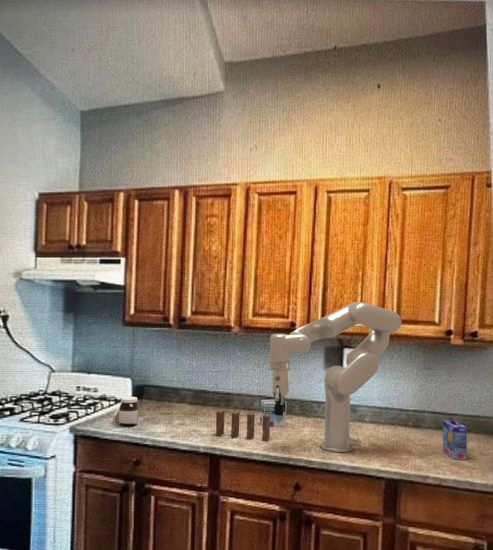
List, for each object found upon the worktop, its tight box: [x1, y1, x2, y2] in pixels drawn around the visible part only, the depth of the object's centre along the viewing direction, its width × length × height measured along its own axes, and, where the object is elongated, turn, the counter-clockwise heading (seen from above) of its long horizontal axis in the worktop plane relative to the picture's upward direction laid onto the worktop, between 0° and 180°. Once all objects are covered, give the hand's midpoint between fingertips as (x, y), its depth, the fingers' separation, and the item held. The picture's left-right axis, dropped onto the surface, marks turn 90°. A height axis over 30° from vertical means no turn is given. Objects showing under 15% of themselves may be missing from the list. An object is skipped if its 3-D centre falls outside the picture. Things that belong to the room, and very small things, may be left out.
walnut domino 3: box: [246, 411, 256, 441], centre depth 212 cm, size 2×5×10 cm, turn 167°
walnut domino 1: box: [215, 408, 226, 437], centre depth 215 cm, size 2×5×10 cm, turn 167°
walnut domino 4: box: [261, 413, 271, 442], centre depth 210 cm, size 2×5×10 cm, turn 167°
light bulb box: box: [259, 399, 287, 428], centre depth 234 cm, size 11×7×11 cm, turn 105°
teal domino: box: [276, 395, 284, 421], centre depth 199 cm, size 2×5×10 cm, turn 167°
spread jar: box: [112, 396, 139, 428], centre depth 227 cm, size 12×11×12 cm
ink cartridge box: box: [442, 416, 468, 461], centre depth 197 cm, size 10×6×14 cm, turn 2°
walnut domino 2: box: [230, 410, 240, 439], centre depth 213 cm, size 2×5×10 cm, turn 167°
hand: (280, 413), depth 199 cm, fingers closed on teal domino, 4 cm apart
